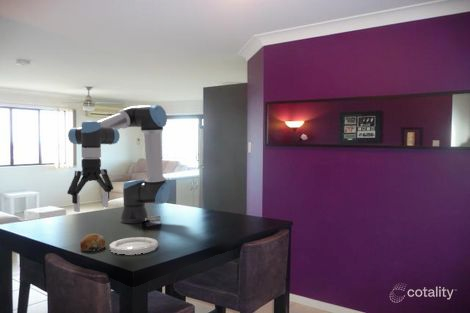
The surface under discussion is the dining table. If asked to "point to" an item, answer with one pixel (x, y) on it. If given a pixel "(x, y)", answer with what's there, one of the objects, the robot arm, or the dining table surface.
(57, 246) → the dining table surface
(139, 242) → the dish
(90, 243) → the bread roll
